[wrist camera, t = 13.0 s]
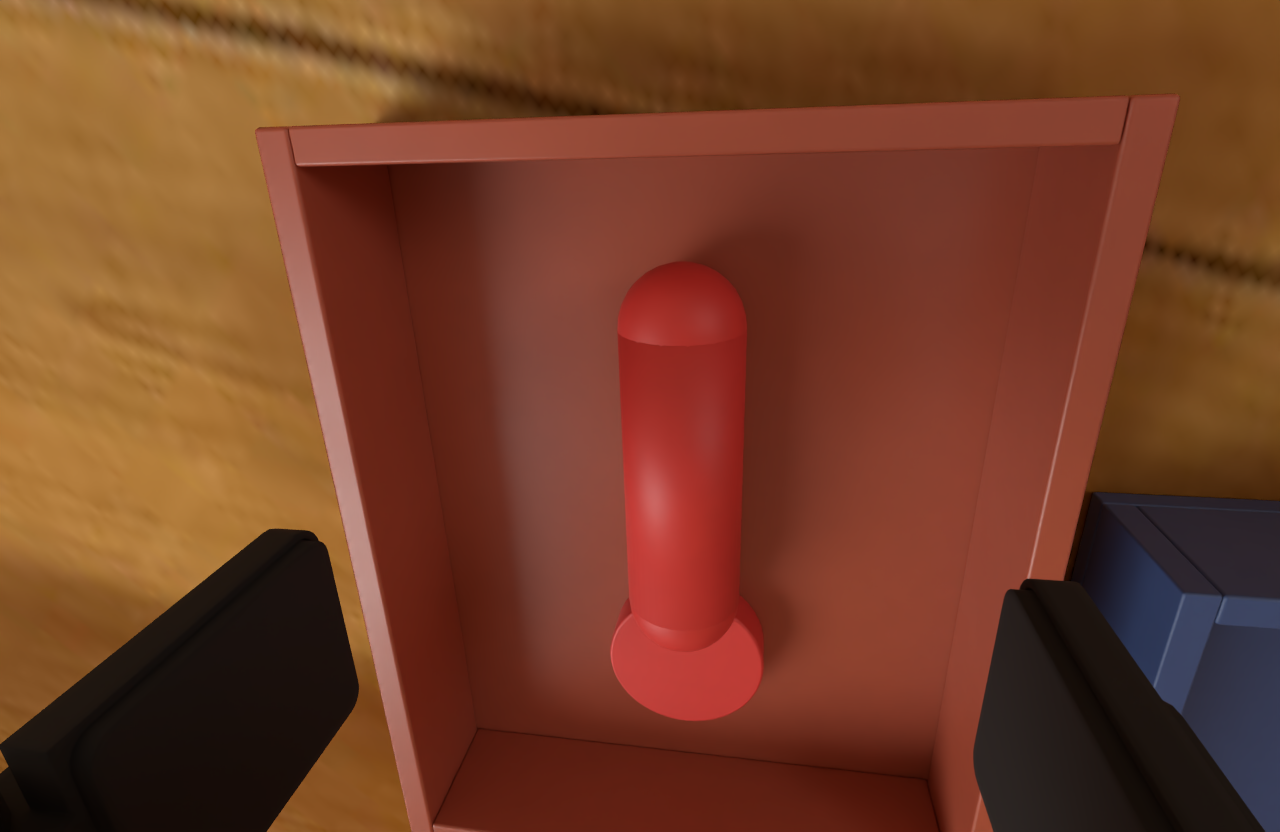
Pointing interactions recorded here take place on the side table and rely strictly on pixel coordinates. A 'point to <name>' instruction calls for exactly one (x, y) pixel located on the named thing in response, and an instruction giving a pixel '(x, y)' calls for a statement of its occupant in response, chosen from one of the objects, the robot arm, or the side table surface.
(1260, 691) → the blue bin
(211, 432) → the side table surface
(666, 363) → the red spoon
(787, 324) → the red bin
